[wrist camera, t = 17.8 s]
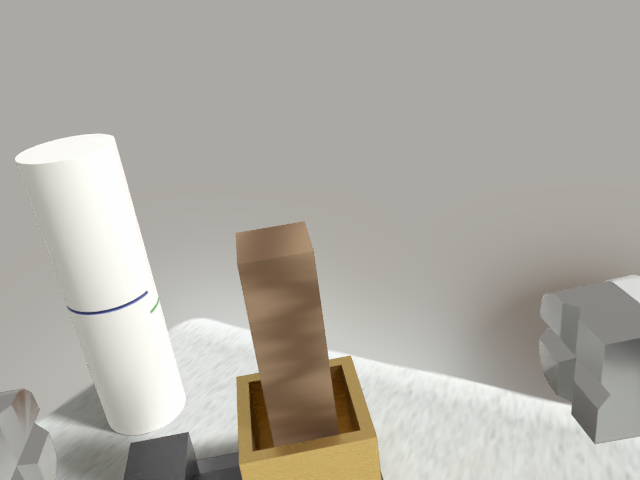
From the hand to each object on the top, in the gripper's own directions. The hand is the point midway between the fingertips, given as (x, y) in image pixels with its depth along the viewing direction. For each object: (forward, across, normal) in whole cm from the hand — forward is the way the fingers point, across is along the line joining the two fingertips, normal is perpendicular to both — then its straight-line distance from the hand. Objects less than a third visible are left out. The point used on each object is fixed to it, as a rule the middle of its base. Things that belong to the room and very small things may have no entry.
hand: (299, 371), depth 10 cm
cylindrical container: (+38, +14, +30) cm, 51 cm away
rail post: (+22, 0, +24) cm, 33 cm away
